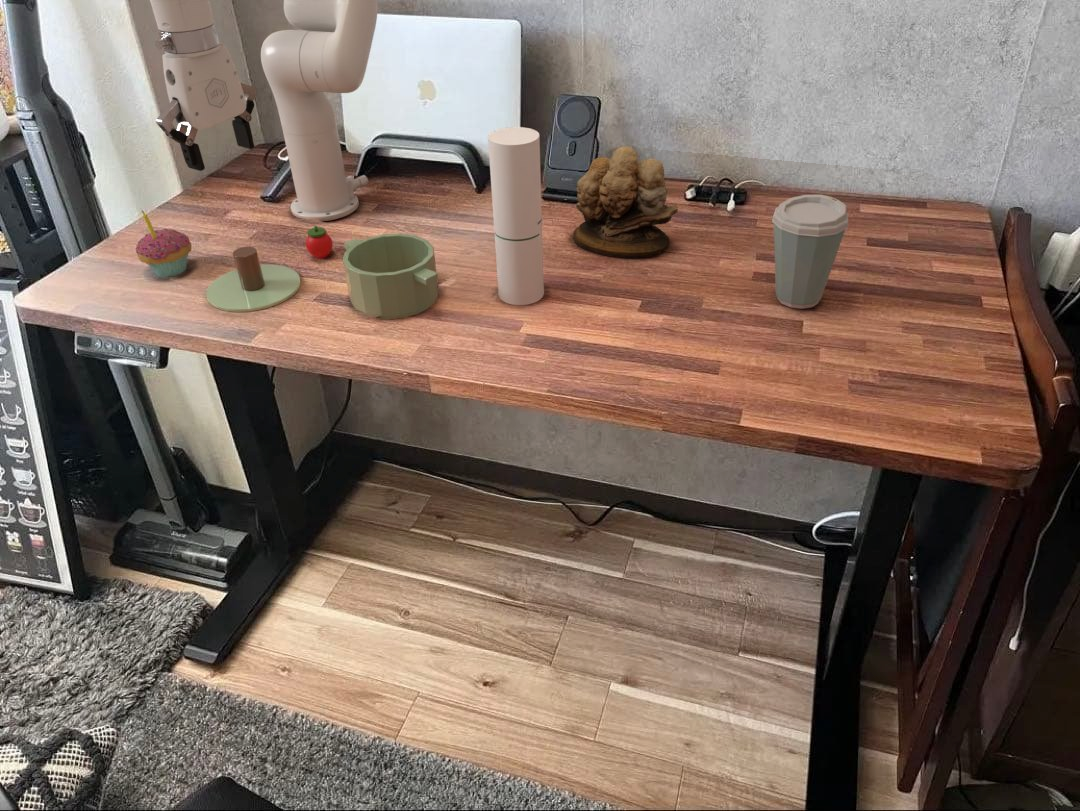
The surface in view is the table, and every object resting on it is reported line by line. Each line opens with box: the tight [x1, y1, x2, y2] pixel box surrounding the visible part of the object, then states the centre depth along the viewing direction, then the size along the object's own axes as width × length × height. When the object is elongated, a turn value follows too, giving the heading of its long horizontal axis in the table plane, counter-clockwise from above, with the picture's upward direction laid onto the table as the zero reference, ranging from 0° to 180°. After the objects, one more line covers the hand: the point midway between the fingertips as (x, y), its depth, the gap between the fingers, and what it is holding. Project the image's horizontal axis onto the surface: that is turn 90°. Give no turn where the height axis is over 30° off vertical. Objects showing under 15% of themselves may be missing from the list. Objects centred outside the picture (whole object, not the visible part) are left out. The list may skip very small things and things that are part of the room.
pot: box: [342, 233, 439, 320], centre depth 131 cm, size 14×19×8 cm
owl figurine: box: [572, 145, 679, 259], centre depth 140 cm, size 18×12×17 cm, turn 69°
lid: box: [205, 246, 302, 313], centre depth 133 cm, size 15×15×7 cm
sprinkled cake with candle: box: [135, 209, 192, 278], centre depth 138 cm, size 9×8×12 cm
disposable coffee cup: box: [771, 194, 849, 310], centre depth 125 cm, size 11×11×15 cm
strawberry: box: [305, 225, 333, 259], centre depth 143 cm, size 4×4×6 cm
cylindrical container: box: [487, 126, 545, 306], centre depth 125 cm, size 7×7×25 cm
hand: (222, 157), depth 129 cm, fingers open, 9 cm apart
